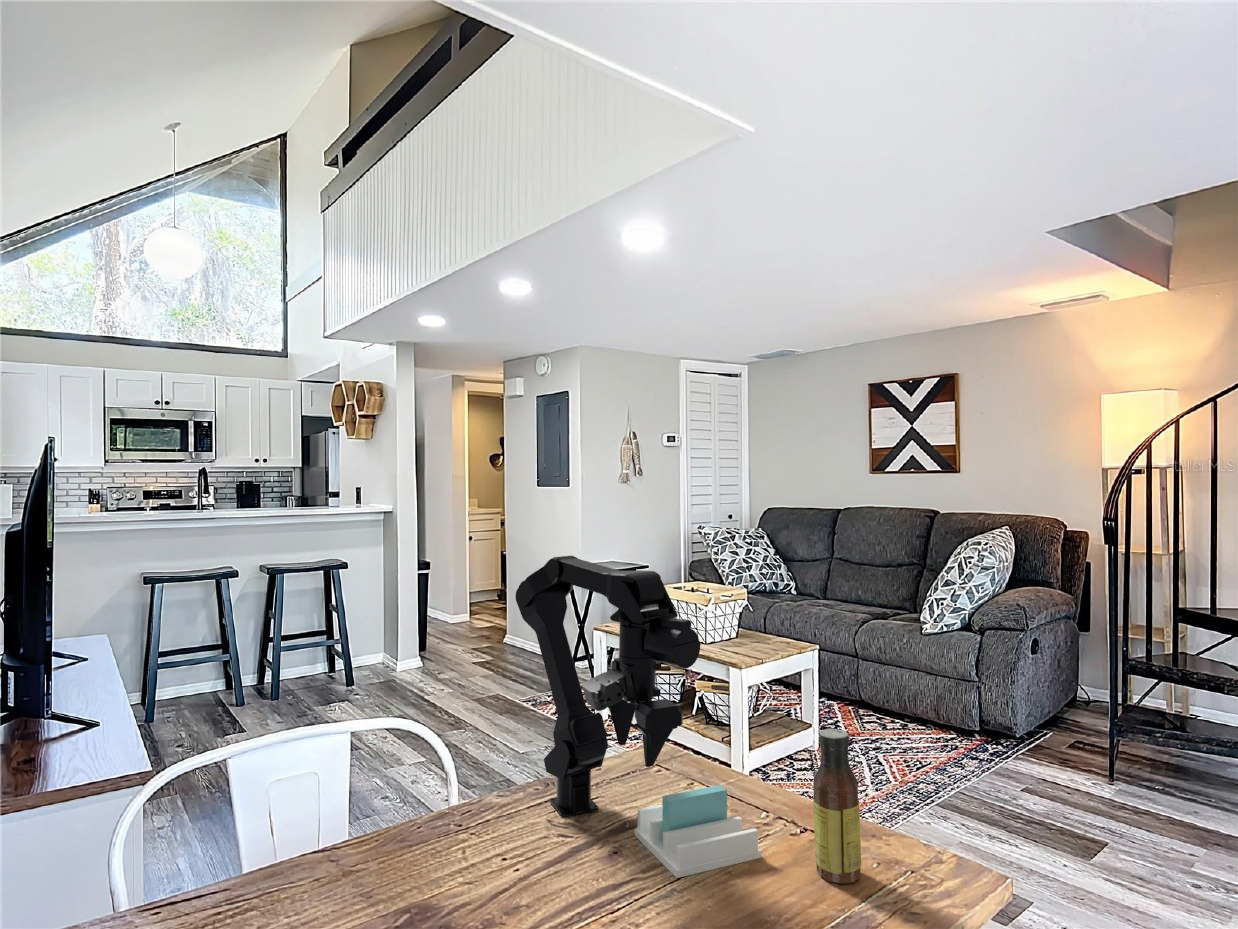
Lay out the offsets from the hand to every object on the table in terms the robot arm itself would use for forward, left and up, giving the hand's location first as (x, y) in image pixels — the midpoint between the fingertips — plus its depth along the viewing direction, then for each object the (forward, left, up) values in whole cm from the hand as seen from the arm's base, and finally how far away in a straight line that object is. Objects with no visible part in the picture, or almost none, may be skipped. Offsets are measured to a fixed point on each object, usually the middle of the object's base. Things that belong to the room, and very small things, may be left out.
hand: (635, 755), depth 118 cm
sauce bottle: (+21, +21, -13) cm, 33 cm away
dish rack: (+6, +7, -13) cm, 16 cm away
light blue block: (+6, +7, -12) cm, 15 cm away
